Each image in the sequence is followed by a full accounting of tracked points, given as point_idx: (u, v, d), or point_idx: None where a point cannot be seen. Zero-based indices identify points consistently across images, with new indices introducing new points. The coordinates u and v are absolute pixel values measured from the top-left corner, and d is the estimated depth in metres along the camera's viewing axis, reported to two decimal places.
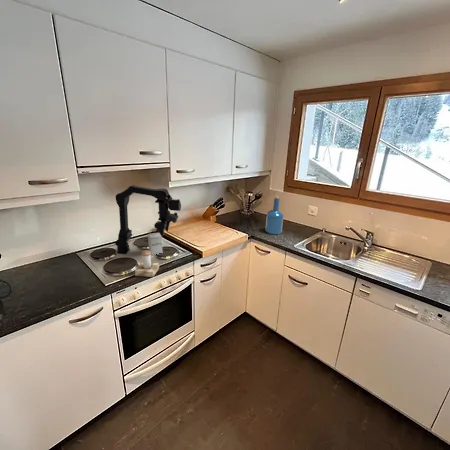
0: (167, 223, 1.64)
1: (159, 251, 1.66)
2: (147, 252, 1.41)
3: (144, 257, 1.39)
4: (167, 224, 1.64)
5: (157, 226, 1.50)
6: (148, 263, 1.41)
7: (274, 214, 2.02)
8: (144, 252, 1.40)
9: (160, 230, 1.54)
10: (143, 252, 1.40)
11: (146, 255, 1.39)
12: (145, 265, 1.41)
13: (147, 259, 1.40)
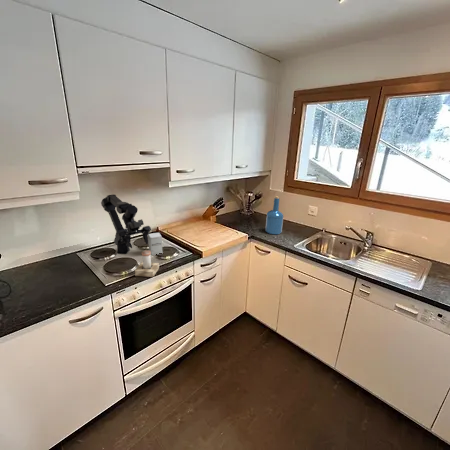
0: (144, 235, 1.50)
1: (159, 251, 1.66)
2: (147, 252, 1.41)
3: (144, 257, 1.39)
4: (144, 236, 1.50)
5: (117, 238, 1.43)
6: (148, 263, 1.41)
7: (274, 214, 2.02)
8: (144, 252, 1.40)
9: (126, 242, 1.44)
10: (143, 252, 1.40)
11: (146, 255, 1.39)
12: (145, 265, 1.41)
13: (147, 259, 1.40)
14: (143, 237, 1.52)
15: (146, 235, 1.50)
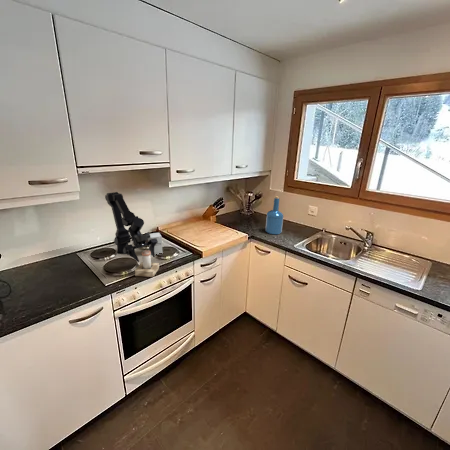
0: (151, 248, 1.47)
1: (159, 251, 1.66)
2: (147, 252, 1.41)
3: (144, 257, 1.39)
4: (151, 249, 1.46)
5: (124, 251, 1.39)
6: (148, 263, 1.41)
7: (274, 214, 2.02)
8: (144, 252, 1.40)
9: (133, 255, 1.40)
10: (143, 252, 1.40)
11: (146, 255, 1.39)
12: (145, 265, 1.41)
13: (147, 259, 1.40)
14: (150, 250, 1.48)
15: (153, 248, 1.46)
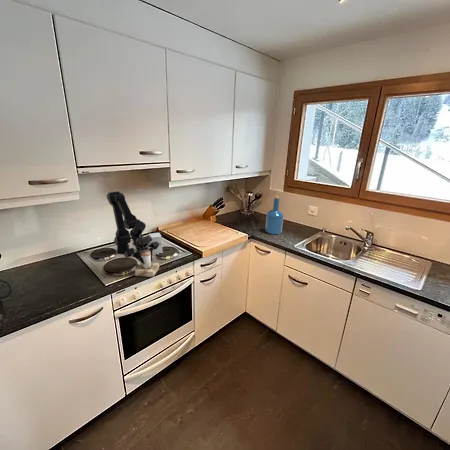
0: None
1: (159, 251, 1.66)
2: (147, 252, 1.41)
3: (144, 257, 1.39)
4: None
5: (125, 255, 1.39)
6: (148, 263, 1.41)
7: (274, 214, 2.02)
8: (144, 252, 1.40)
9: (138, 258, 1.41)
10: (143, 252, 1.40)
11: (146, 255, 1.39)
12: (145, 265, 1.41)
13: (147, 259, 1.40)
14: None
15: (151, 252, 1.44)
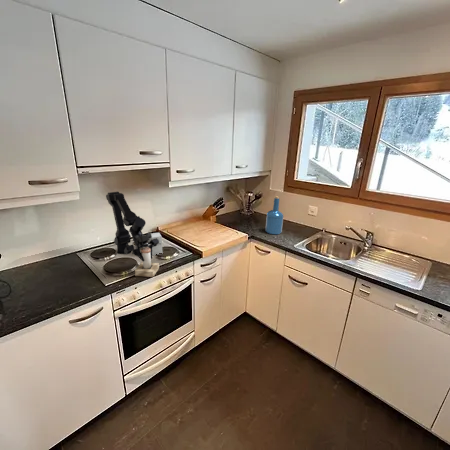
0: None
1: (159, 251, 1.66)
2: (147, 249, 1.40)
3: (144, 254, 1.39)
4: None
5: (125, 252, 1.38)
6: (147, 260, 1.40)
7: (274, 214, 2.02)
8: (144, 249, 1.40)
9: (138, 255, 1.40)
10: (143, 249, 1.40)
11: (146, 252, 1.38)
12: (145, 262, 1.40)
13: (147, 256, 1.39)
14: None
15: None
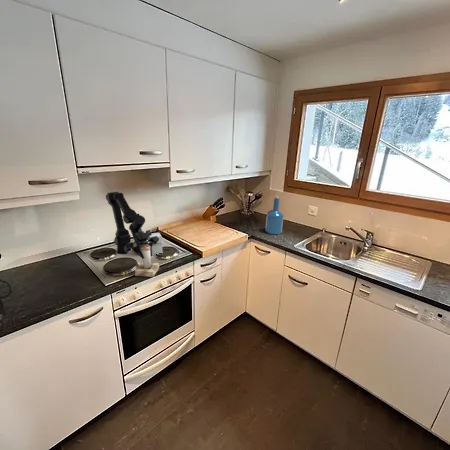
0: None
1: (159, 251, 1.66)
2: (147, 247, 1.39)
3: (144, 252, 1.38)
4: None
5: (125, 249, 1.37)
6: (147, 258, 1.40)
7: (274, 214, 2.02)
8: (144, 247, 1.39)
9: (138, 252, 1.40)
10: (143, 247, 1.39)
11: (146, 250, 1.38)
12: (145, 260, 1.40)
13: (147, 254, 1.39)
14: None
15: (150, 247, 1.43)
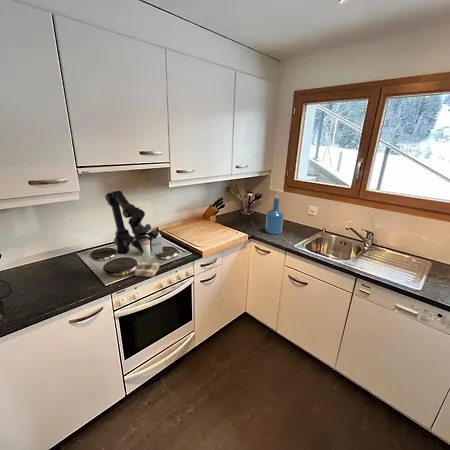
0: None
1: (159, 251, 1.66)
2: (146, 241, 1.38)
3: (143, 246, 1.37)
4: None
5: (124, 243, 1.36)
6: (147, 252, 1.39)
7: (274, 214, 2.02)
8: (143, 241, 1.38)
9: (137, 246, 1.39)
10: (142, 241, 1.38)
11: (145, 244, 1.37)
12: (144, 254, 1.39)
13: (146, 248, 1.38)
14: None
15: (150, 241, 1.42)
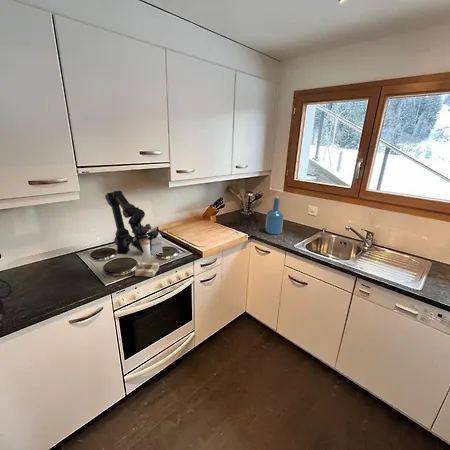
0: None
1: (159, 251, 1.66)
2: (146, 241, 1.38)
3: (143, 246, 1.37)
4: None
5: (124, 243, 1.36)
6: (147, 252, 1.39)
7: (274, 214, 2.02)
8: (143, 241, 1.38)
9: (137, 246, 1.39)
10: (142, 241, 1.38)
11: (145, 244, 1.37)
12: (144, 254, 1.39)
13: (146, 248, 1.38)
14: None
15: (150, 241, 1.42)
